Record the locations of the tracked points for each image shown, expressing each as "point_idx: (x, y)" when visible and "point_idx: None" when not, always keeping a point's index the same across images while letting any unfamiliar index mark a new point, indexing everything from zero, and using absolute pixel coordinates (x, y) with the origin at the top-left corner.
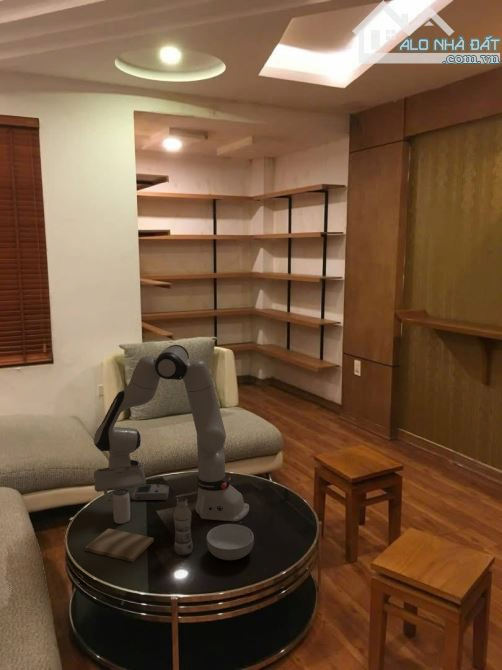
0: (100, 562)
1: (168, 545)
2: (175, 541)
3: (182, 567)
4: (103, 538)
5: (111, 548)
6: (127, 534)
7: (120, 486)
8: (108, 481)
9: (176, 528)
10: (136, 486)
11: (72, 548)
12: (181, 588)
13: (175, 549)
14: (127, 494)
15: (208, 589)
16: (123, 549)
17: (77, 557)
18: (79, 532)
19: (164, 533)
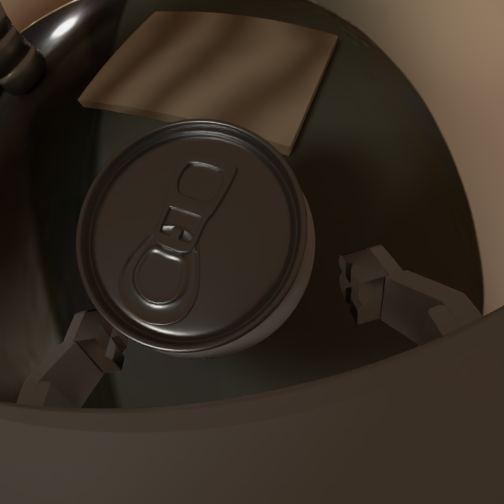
0: (256, 6)
1: (51, 97)
2: (30, 47)
3: (54, 41)
4: (285, 72)
5: (230, 28)
6: (175, 101)
7: (209, 403)
8: (497, 435)
9: (9, 19)
10: (21, 398)
11: (389, 62)
12: (78, 4)
13: (42, 55)
14: (96, 211)
15: (43, 20)
16: (184, 30)
17: (343, 24)
18: (429, 160)
19: (44, 158)
